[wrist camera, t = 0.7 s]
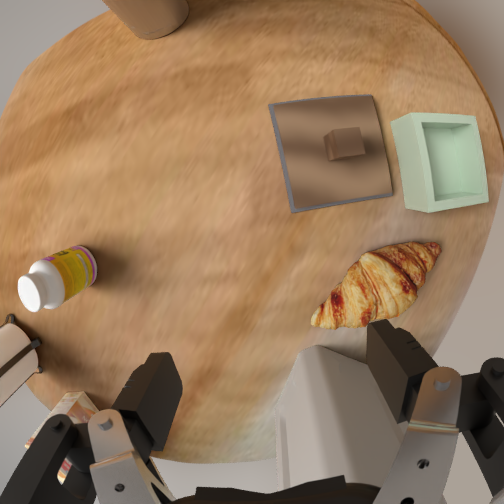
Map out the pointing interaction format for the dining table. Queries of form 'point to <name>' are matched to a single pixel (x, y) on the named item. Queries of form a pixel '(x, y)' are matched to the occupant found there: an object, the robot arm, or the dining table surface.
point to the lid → (333, 149)
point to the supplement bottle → (57, 278)
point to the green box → (440, 161)
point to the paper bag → (334, 423)
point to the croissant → (378, 286)
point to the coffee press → (15, 359)
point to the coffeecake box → (77, 410)
